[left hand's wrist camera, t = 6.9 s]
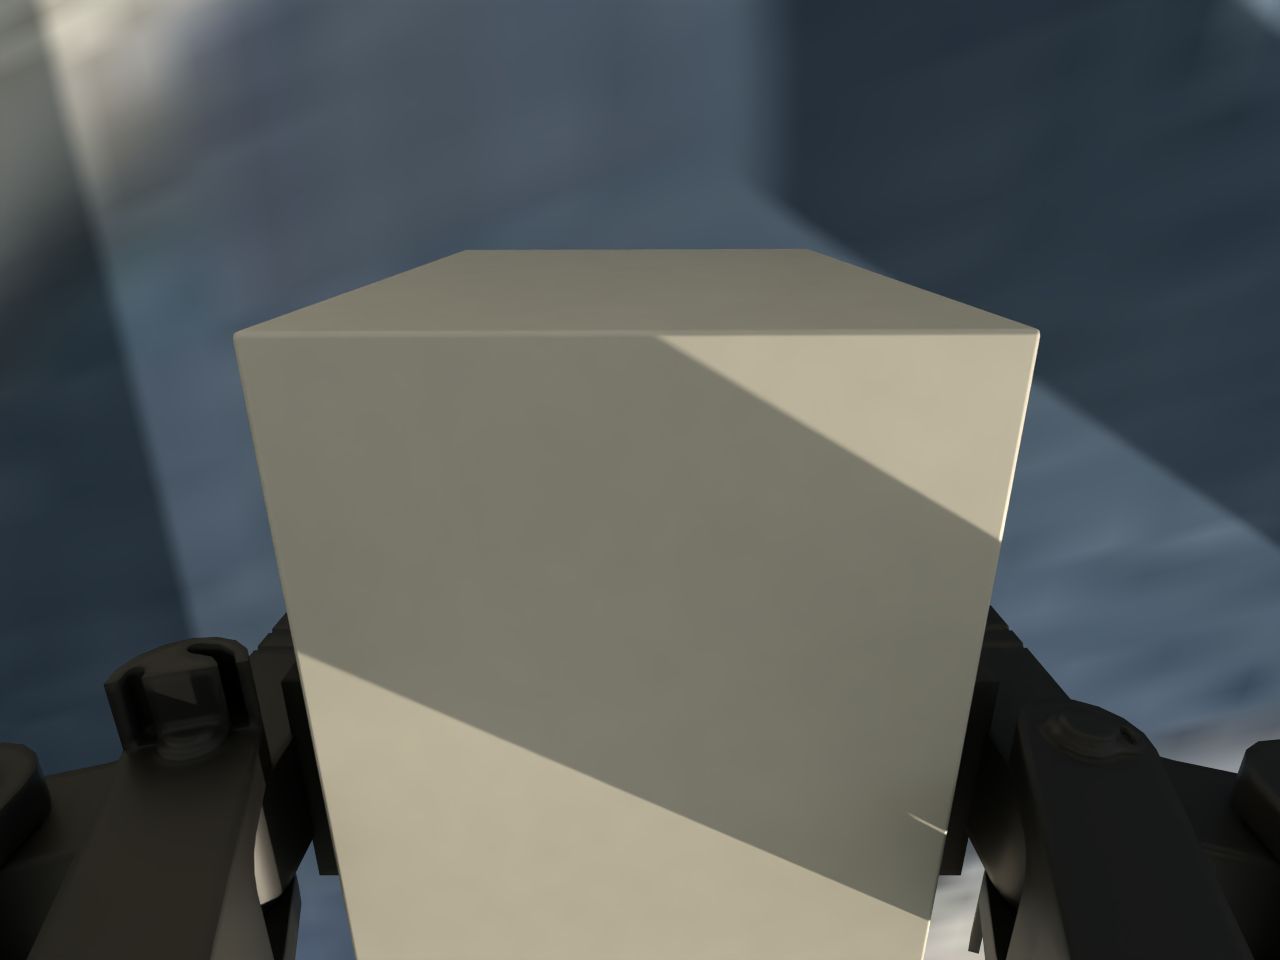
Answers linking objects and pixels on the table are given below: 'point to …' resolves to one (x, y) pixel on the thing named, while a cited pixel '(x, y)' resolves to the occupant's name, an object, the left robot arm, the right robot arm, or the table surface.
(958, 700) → the beam
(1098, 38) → the table surface
